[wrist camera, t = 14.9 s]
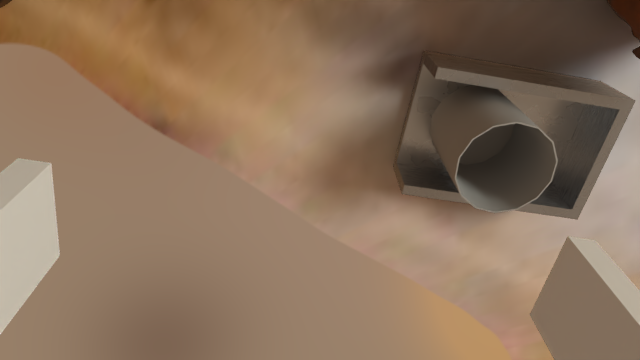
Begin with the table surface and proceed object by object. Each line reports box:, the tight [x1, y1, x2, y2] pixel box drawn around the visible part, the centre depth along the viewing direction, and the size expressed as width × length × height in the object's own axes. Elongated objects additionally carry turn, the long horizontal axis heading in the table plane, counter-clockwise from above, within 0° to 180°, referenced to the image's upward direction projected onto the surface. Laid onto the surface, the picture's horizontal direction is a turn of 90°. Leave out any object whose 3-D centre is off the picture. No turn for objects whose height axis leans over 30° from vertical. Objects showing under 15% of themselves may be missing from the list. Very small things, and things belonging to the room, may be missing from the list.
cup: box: [430, 85, 558, 213], centre depth 45 cm, size 8×8×10 cm
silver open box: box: [393, 51, 635, 219], centre depth 48 cm, size 18×12×6 cm
